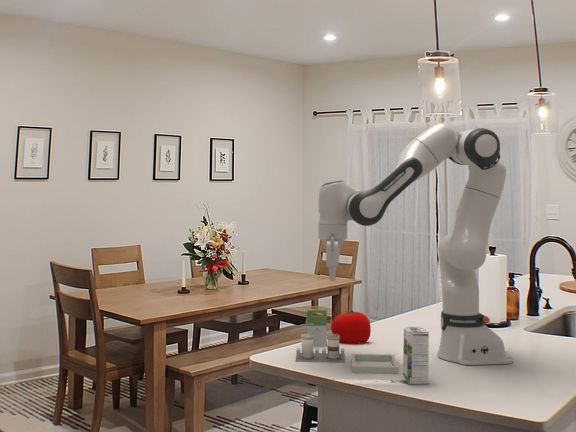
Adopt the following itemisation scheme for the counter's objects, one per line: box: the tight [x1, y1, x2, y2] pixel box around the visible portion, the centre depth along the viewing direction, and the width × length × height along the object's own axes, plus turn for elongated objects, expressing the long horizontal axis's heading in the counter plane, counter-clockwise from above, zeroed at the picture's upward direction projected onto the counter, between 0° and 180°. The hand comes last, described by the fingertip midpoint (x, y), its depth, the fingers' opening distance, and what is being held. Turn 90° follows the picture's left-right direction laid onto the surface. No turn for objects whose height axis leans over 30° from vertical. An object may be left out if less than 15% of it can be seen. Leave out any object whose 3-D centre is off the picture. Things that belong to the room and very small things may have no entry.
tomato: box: [330, 309, 372, 345], centre depth 198 cm, size 12×14×11 cm
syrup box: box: [402, 326, 430, 385], centre depth 157 cm, size 6×6×14 cm
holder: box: [294, 332, 346, 364], centre depth 177 cm, size 15×10×8 cm, turn 84°
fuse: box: [326, 333, 341, 360], centre depth 177 cm, size 4×4×7 cm
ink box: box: [305, 309, 328, 348], centre depth 192 cm, size 7×4×13 cm, turn 92°
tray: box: [350, 353, 399, 375], centre depth 168 cm, size 13×13×3 cm
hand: (332, 278), depth 176 cm, fingers open, 8 cm apart
